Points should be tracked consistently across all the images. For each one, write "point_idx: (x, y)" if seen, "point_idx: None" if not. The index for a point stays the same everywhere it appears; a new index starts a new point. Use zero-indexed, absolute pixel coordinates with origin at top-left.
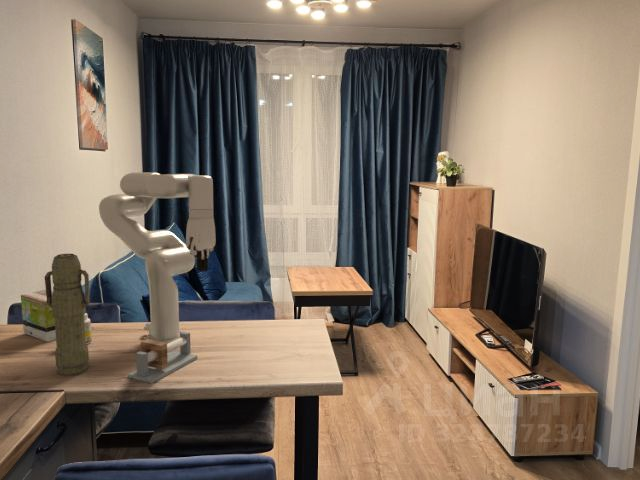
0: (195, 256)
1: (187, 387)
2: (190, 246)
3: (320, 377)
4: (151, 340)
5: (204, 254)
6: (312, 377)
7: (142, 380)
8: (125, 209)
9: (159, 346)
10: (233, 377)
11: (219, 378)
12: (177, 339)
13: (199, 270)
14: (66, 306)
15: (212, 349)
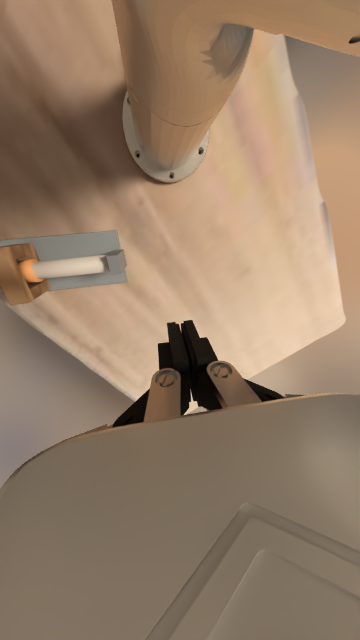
0: (137, 401)
1: (51, 338)
2: (82, 492)
3: None
4: (7, 264)
5: (219, 407)
6: None
7: None
8: None
9: (9, 300)
10: (112, 358)
11: (99, 349)
12: (91, 265)
13: (168, 335)
14: None
15: (170, 273)
